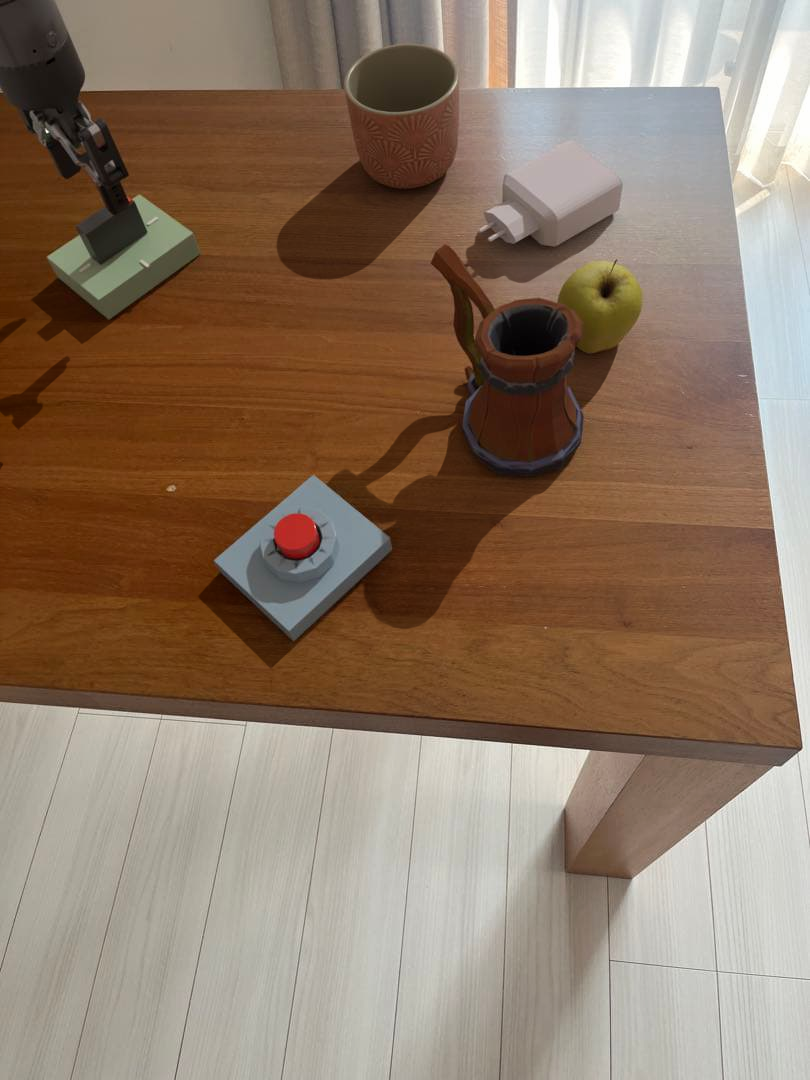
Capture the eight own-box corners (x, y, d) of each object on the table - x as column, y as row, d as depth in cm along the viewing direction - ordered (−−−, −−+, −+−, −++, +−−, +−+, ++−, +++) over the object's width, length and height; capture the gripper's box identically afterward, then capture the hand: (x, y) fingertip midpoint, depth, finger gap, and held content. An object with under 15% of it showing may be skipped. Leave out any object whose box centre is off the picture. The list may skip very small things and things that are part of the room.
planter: (483, 168, 103) (482, 80, 93) (395, 216, 100) (385, 130, 91) (422, 117, 108) (415, 29, 99) (337, 160, 106) (322, 74, 96)
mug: (399, 382, 88) (384, 269, 75) (491, 327, 91) (492, 208, 78) (512, 503, 80) (516, 400, 67) (609, 439, 83) (631, 328, 70)
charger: (458, 230, 98) (564, 172, 101) (509, 277, 94) (618, 214, 97) (457, 195, 94) (567, 135, 97) (510, 242, 90) (624, 178, 93)
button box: (293, 641, 75) (284, 622, 72) (219, 571, 79) (207, 550, 76) (392, 549, 79) (388, 527, 75) (317, 487, 83) (309, 463, 79)
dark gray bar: (101, 265, 96) (84, 232, 92) (90, 256, 96) (73, 224, 93) (148, 232, 98) (134, 199, 94) (137, 224, 98) (123, 191, 95)
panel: (110, 321, 96) (99, 300, 93) (55, 275, 100) (43, 254, 97) (202, 255, 100) (194, 233, 97) (146, 213, 104) (136, 191, 101)
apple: (555, 290, 91) (593, 222, 82) (625, 322, 91) (671, 258, 82) (532, 347, 88) (569, 282, 79) (605, 380, 88) (650, 319, 79)
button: (297, 567, 75) (293, 557, 73) (269, 542, 76) (265, 532, 75) (327, 539, 76) (324, 529, 74) (300, 515, 77) (296, 505, 76)
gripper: (-55, 28, 79) (28, 181, 93) (32, 90, 73) (106, 242, 87) (15, -11, 81) (85, 144, 95) (105, 46, 75) (166, 201, 89)
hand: (95, 191), depth 91 cm, fingers open, 8 cm apart
